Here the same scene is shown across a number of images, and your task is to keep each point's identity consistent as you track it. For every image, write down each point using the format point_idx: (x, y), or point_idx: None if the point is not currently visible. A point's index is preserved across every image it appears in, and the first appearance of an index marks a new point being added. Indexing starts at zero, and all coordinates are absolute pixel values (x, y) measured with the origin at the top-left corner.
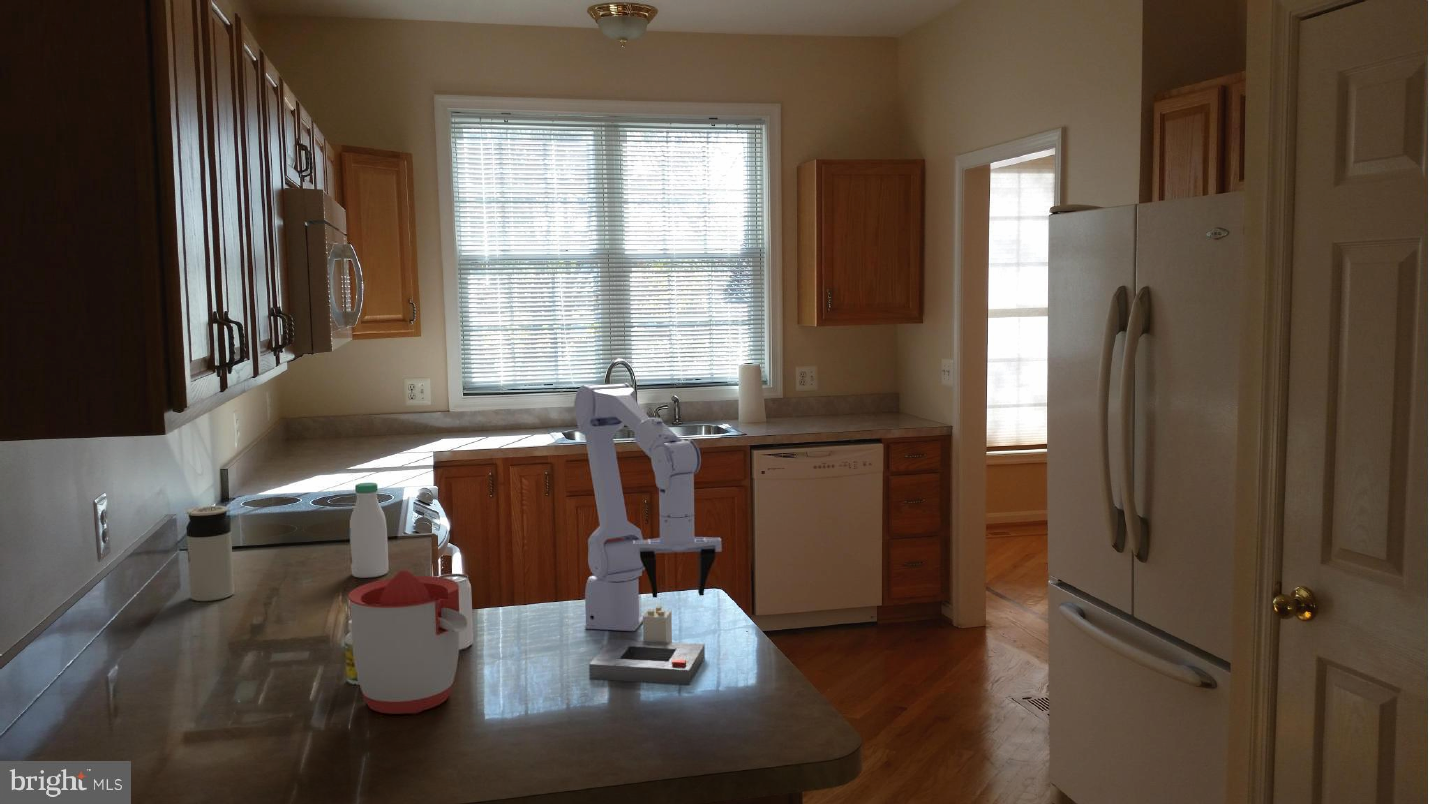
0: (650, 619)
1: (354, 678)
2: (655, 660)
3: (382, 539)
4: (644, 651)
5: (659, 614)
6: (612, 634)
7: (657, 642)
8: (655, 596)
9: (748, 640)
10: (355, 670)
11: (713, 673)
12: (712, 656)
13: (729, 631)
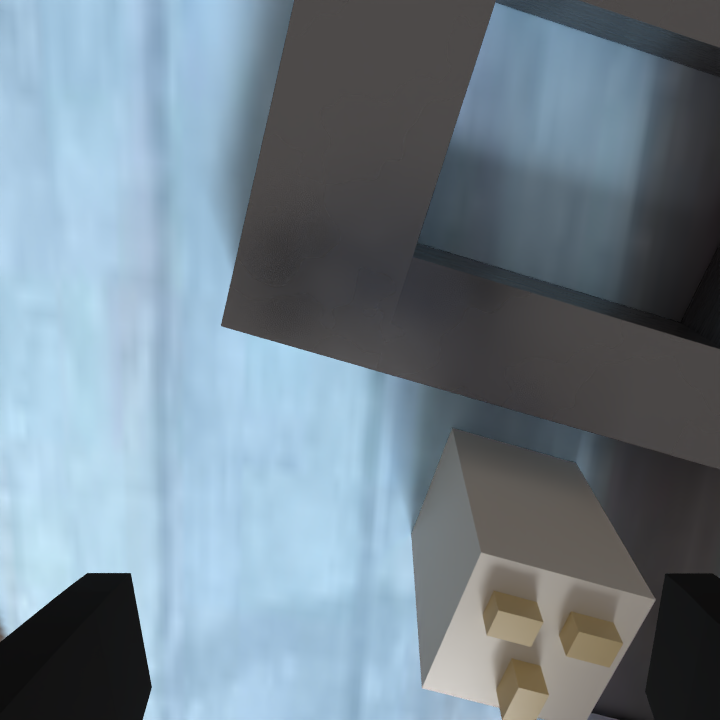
0: (592, 570)
1: None
2: (536, 279)
3: None
4: (617, 312)
5: (526, 605)
6: None
7: (527, 398)
8: (696, 579)
9: (9, 534)
10: None
11: (191, 29)
12: (196, 329)
13: None
